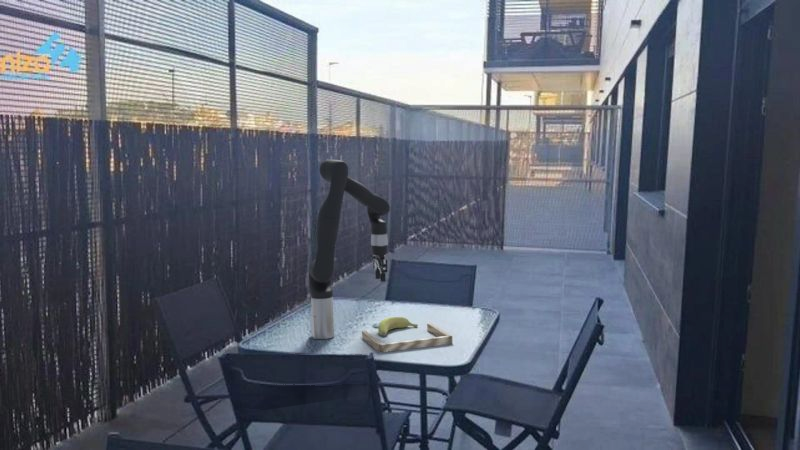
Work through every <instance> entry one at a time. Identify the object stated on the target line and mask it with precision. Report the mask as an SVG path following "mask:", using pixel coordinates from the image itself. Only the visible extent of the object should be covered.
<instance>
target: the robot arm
mask: <svg viewBox="0 0 800 450" xmlns="http://www.w3.org/2000/svg"><path fill="white" fill-rule="evenodd" d="M319 173H320V176H321V178H322V179H323V180H325V181H327V182H329V183H330V186H329V189H328V194H327V197H326V198H325V200H324V201H323V202H322V205H321V206H320V208H319V211H318V213H317V221H316V242H317V249H316V255H315V259H313V260H312V261H311V262H310V263H309V267H308V281H309V283H308V284H309V291H310V299H311V300H310V301H311V303H310V304H311V314H310V328H311V329H310V331H311V332H310V333H311V337H312V338H313V339H314V340H327V339H332V338H334V337H335V318H334V316H335V313H334V294H333V293H334V292H333V291H334V290H333V288H332V277H333V275H334V272H335V271H334V267H335V266H334V264H335V250H336V249H335V248H336V245H337V238H338V233H339V227H340V222H341V221H340V219H341V210H342V206H343V199H344V194H345V193H346V194H348V195H350V196H351V197H352V198H353V199H355V200H356V202H358V203H360V204H361V205H363V206H364V207H366V211H367V214H368V215H367V216H368V219H369V223H370V230H371V231H370V232H371V234H370V235H371V236H370V248H371V249H370V250H371V255H372V265H373V270H374V272H375V273H374V275H375V279H376V280H379V281H380V282H382V283H384V282H386V281H387V280H386V278H387V277H386V273H388V259H387V258H385V256H386V255H388V254H389V241H388V239H389V238H388V226H387V222H386V221H385V220H383V219H382V218H381V217H382V216H387V215H388V214H389V213H390V211H391V205H390V203H389V202H388V200H386V198H384V197H381V196H380V195H378V194H375V193H374V192H372V190H370V189H369V188H368V187H366V186H365V185H364V184H362V183H360V182H359V181H357V180H356V179H353V178H351V177H350V176H349V167H348V164H347V163H346V161H344V160H339V159H326V160H324V161H322V163H321V164H320V166H319Z"/></svg>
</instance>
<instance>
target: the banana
mask: <svg viewBox="0 0 800 450" xmlns="http://www.w3.org/2000/svg"><path fill="white" fill-rule="evenodd" d="M418 325H419V324H418V323H412V322H411V321H410V320H409V319H408V318H406V317H403V316H391V317H387V318H386V317H385V318H384V319H382V320H381V321H380V322H379V324H378V328H377V329H378V330H377V331H378V333H379V335H380V336H381V337H386V336H387V335H388V332H389V331H391V330H393V329H400V328H401V329H402V328H404V329H405V328H407V327H414V328H415V327H417V328H418Z"/></svg>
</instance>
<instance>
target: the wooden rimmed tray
mask: <svg viewBox="0 0 800 450" xmlns="http://www.w3.org/2000/svg"><path fill="white" fill-rule="evenodd" d="M426 330H427V331H428V332H429V333H431V334H433V335H434V336H433V337H426V338H420V339H419V338H418V339H410V340H401V341H395V342H393V341H392V342H387V343H382V342H380V341H379V340H377V339H376V338H375V337H374V336H373V335H371V334H370V333H369V332H368V331H367V330H361V338H362V339H363V340H364V341H365V342H366V343H367V344H369V346H371V347H372V348H373V349H374V350H376V351H377V352H378V353H379V354H380V352H382V353H389V352H388V351H390V352H395V351H396V352H397V350H398V351H404V350H412V349H413V350H414V349H420V348H429V347H435V346H443V345H444V346H445V345H450V344H453V335H451V334H449V333H448V332H446V331H444V330H443V329H441V328H439V327H438V326H436V325H434V324H433V323H431V322H428V323H427V324H426ZM435 336H436V337H435Z"/></svg>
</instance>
